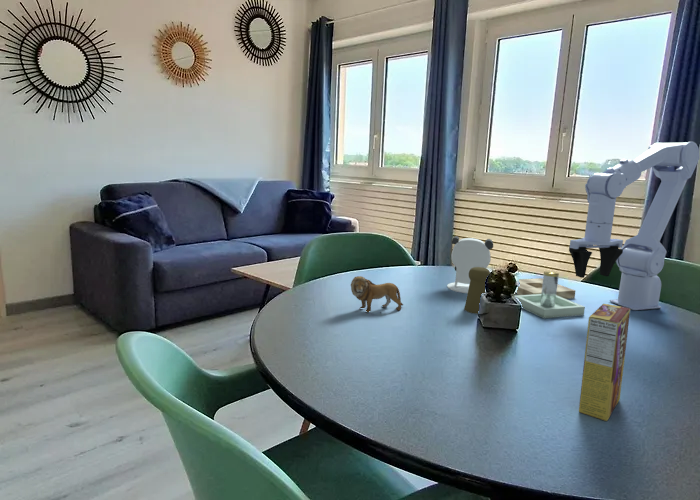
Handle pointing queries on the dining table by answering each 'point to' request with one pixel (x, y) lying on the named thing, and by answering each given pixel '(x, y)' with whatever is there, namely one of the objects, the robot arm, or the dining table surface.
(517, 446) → the dining table surface
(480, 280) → the cork
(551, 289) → the steel pin
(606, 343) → the candy box
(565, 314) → the sage tray
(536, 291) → the hitch block
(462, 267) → the panda figurine
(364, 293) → the lion figurine
